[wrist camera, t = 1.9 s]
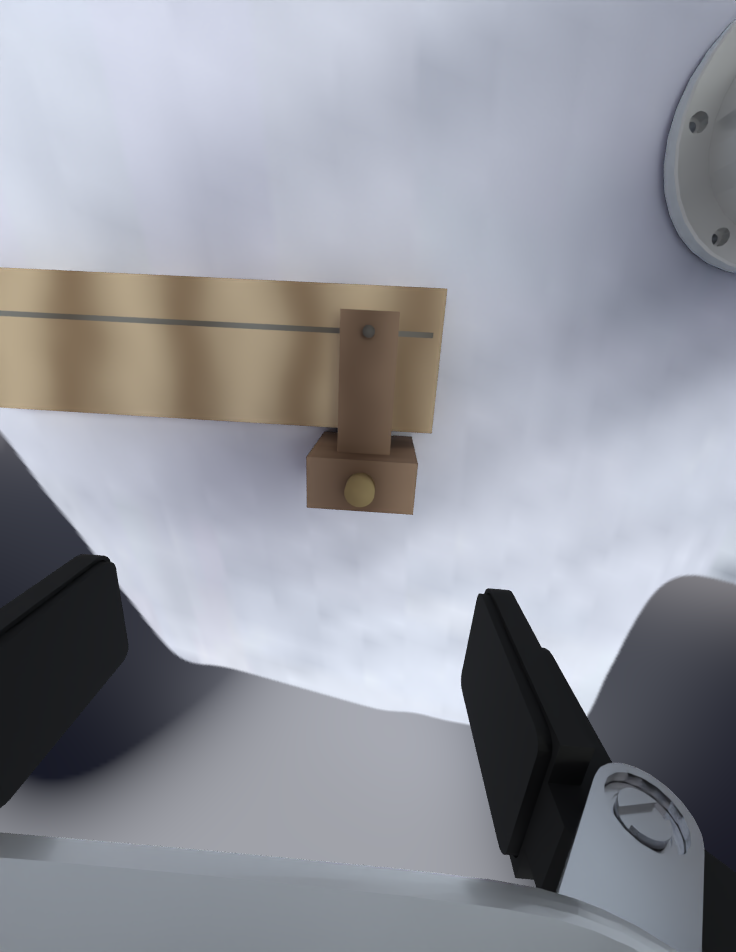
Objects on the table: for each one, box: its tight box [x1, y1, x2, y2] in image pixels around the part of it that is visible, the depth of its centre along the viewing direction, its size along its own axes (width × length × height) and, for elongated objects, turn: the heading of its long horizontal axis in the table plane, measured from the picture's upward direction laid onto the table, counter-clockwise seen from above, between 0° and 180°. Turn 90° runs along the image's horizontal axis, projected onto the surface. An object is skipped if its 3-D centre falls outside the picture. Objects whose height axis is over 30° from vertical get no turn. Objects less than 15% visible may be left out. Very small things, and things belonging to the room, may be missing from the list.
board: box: [0, 268, 447, 433], centre depth 23 cm, size 28×8×2 cm, turn 87°
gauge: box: [306, 309, 418, 515], centre depth 22 cm, size 6×11×7 cm, turn 177°
